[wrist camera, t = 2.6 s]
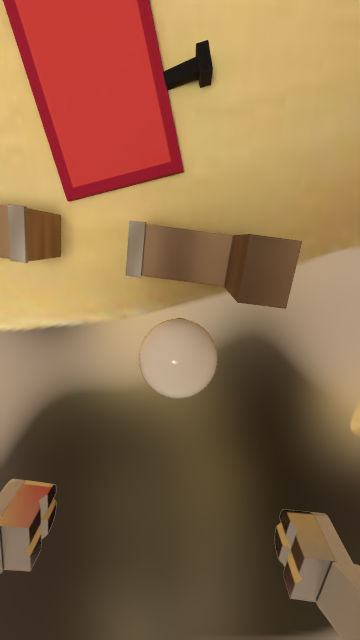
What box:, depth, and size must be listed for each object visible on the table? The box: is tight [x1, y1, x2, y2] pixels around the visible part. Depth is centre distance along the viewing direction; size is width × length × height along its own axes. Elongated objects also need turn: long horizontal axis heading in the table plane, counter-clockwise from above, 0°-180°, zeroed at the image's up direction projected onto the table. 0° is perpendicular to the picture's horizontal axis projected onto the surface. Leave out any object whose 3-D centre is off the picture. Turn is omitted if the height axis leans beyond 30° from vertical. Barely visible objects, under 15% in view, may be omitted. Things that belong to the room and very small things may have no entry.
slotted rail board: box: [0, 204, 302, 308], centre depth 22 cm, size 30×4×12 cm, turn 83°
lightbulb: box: [139, 318, 217, 398], centre depth 25 cm, size 6×6×11 cm
